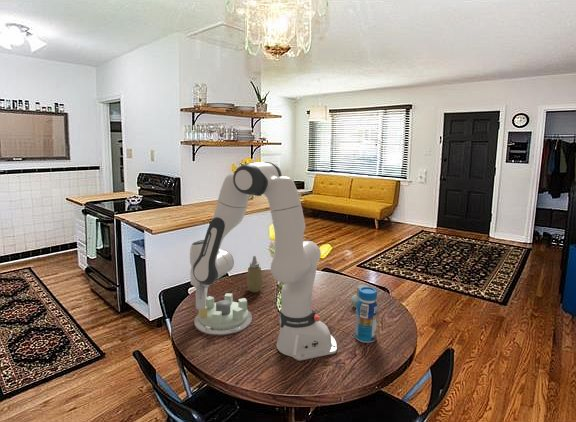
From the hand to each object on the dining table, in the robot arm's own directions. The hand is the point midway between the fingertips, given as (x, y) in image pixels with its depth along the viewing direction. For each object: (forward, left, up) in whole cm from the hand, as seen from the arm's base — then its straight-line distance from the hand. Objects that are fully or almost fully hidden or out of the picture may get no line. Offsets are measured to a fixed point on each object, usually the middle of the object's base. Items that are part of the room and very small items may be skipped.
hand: (202, 309), depth 154 cm
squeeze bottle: (-24, -29, -6) cm, 37 cm away
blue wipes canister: (-64, +21, -6) cm, 67 cm away
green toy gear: (-9, 0, -4) cm, 9 cm away
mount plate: (-9, 0, -5) cm, 10 cm away
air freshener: (-72, -4, -6) cm, 72 cm away
